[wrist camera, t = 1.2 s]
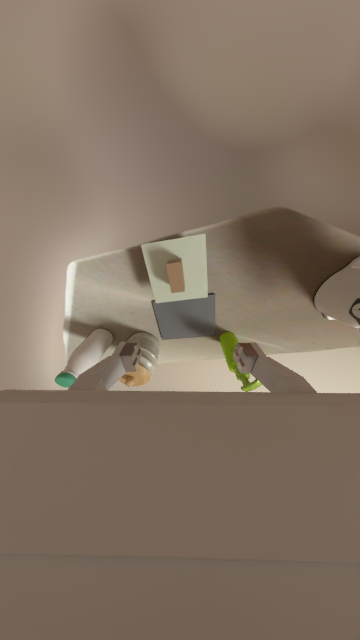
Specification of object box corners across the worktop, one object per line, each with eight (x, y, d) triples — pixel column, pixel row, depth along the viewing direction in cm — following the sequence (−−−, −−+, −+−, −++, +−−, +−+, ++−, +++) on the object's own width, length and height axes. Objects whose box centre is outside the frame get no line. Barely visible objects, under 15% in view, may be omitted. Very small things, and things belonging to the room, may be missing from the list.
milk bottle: (99, 324, 49) (52, 369, 32) (117, 336, 51) (83, 383, 34) (90, 335, 52) (43, 382, 35) (108, 346, 54) (72, 394, 37)
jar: (142, 359, 58) (126, 401, 43) (121, 339, 52) (95, 379, 37) (166, 349, 54) (159, 391, 39) (147, 326, 48) (130, 365, 33)
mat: (214, 293, 41) (214, 294, 40) (214, 334, 49) (215, 335, 48) (152, 301, 43) (152, 301, 42) (162, 338, 51) (162, 339, 51)
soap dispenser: (240, 335, 49) (270, 387, 32) (226, 346, 52) (246, 398, 35) (230, 327, 47) (255, 377, 30) (216, 338, 50) (231, 389, 33)
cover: (204, 233, 28) (209, 232, 23) (207, 295, 35) (210, 305, 30) (141, 244, 29) (132, 245, 24) (156, 301, 36) (151, 311, 31)
